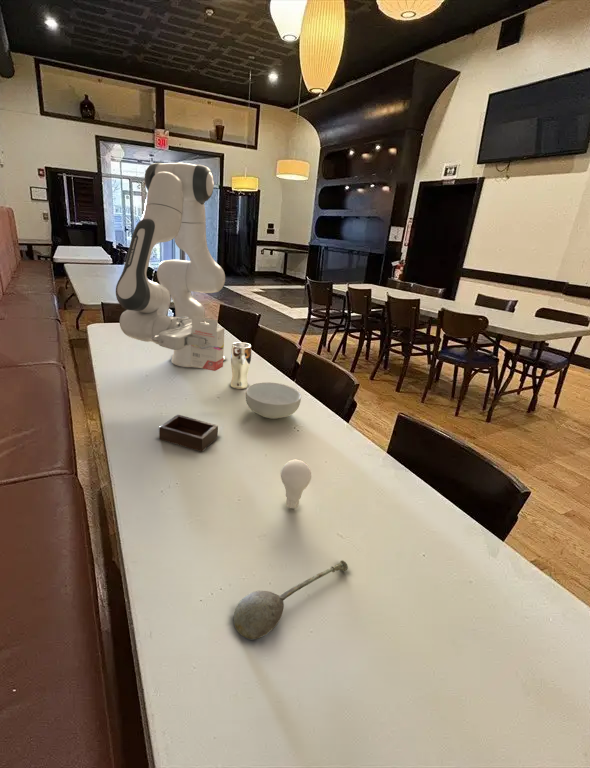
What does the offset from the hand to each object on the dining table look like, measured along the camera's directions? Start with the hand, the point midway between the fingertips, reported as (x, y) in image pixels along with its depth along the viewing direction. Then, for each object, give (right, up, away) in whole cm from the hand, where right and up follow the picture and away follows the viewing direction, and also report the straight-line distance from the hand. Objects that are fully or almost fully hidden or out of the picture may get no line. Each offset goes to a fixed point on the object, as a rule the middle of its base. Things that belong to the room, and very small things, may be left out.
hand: (210, 339), depth 118 cm
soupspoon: (+19, -47, -53) cm, 73 cm away
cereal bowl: (+18, -22, +9) cm, 30 cm away
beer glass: (+7, -13, +28) cm, 32 cm away
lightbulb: (+20, -39, -32) cm, 54 cm away
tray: (-5, -27, -9) cm, 29 cm away
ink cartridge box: (-2, -8, +3) cm, 9 cm away
